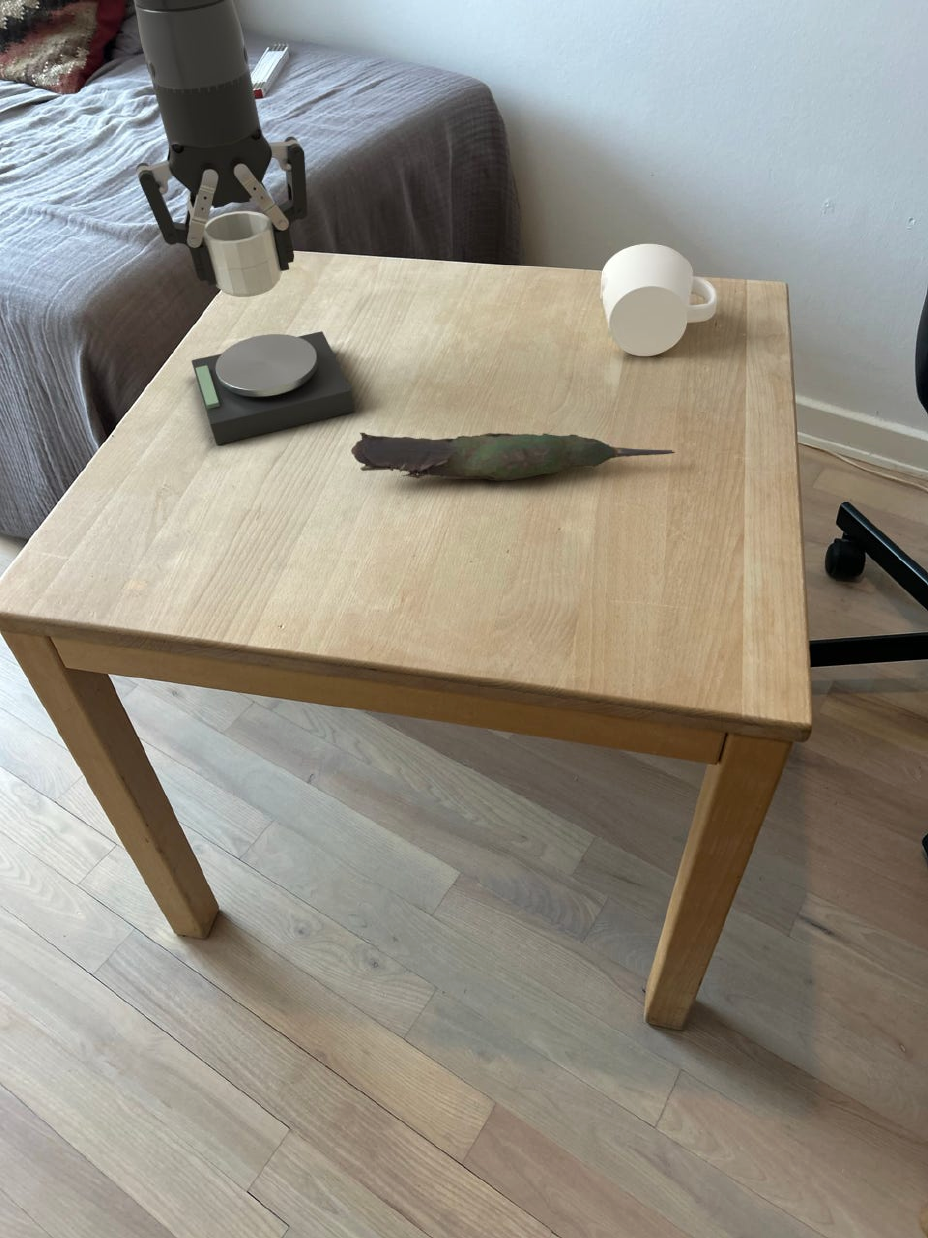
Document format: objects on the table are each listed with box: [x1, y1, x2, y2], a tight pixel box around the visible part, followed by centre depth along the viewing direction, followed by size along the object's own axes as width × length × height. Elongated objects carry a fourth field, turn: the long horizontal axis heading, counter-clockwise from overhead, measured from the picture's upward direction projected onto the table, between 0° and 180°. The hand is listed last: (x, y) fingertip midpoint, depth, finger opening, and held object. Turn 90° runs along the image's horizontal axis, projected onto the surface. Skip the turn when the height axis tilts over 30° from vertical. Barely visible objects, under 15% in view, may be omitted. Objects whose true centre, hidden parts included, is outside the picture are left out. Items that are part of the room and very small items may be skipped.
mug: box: [599, 243, 719, 357], centre depth 92 cm, size 12×9×8 cm
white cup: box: [203, 210, 283, 298], centre depth 79 cm, size 6×6×5 cm
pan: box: [216, 333, 318, 397], centre depth 88 cm, size 10×10×1 cm
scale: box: [191, 331, 356, 446], centre depth 89 cm, size 14×12×3 cm
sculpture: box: [350, 432, 676, 482], centre depth 79 cm, size 5×29×5 cm, turn 91°
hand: (247, 273), depth 80 cm, fingers closed on white cup, 6 cm apart
